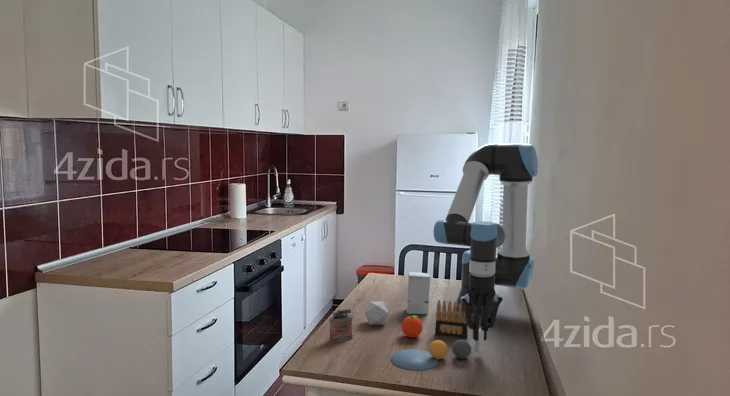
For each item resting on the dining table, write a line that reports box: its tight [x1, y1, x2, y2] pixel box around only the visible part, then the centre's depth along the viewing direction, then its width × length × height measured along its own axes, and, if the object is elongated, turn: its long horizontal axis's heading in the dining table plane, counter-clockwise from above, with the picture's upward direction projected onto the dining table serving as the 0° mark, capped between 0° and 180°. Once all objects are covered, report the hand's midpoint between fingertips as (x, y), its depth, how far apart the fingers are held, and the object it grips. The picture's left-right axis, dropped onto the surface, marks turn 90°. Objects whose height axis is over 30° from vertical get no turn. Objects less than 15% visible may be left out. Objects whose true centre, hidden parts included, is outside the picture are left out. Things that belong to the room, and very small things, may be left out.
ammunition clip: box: [434, 299, 468, 340], centre depth 166 cm, size 11×2×12 cm, turn 74°
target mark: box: [390, 348, 439, 371], centre depth 147 cm, size 14×14×1 cm
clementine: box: [401, 315, 423, 338], centre depth 165 cm, size 8×7×7 cm
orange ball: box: [428, 339, 449, 360], centre depth 148 cm, size 6×6×6 cm
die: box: [364, 301, 389, 326], centre depth 176 cm, size 8×9×10 cm
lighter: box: [328, 308, 354, 343], centre depth 161 cm, size 8×3×10 cm, turn 117°
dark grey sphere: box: [452, 339, 472, 360], centre depth 149 cm, size 6×6×6 cm
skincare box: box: [406, 271, 431, 315], centre depth 189 cm, size 8×6×15 cm
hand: (479, 350), depth 150 cm, fingers closed
